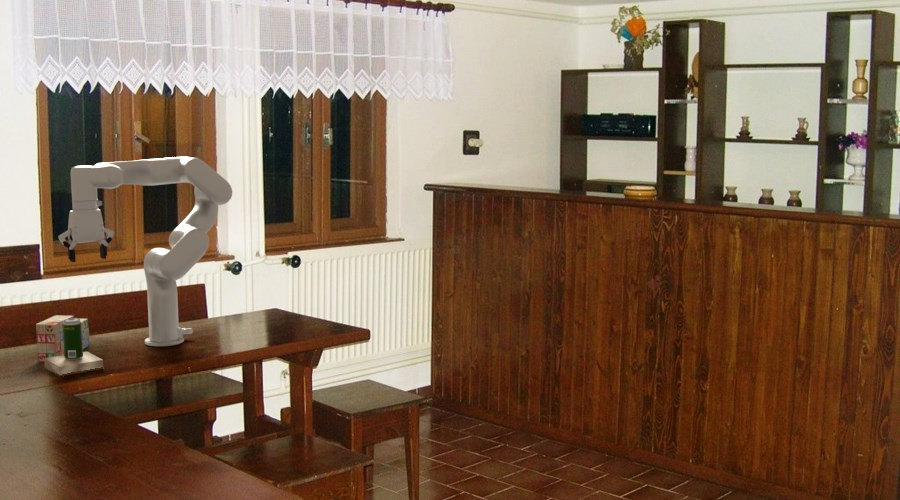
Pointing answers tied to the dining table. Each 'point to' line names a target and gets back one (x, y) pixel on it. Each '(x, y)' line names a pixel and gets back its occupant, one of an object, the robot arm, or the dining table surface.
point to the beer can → (72, 339)
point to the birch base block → (73, 363)
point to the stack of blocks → (56, 336)
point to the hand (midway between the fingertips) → (88, 260)
